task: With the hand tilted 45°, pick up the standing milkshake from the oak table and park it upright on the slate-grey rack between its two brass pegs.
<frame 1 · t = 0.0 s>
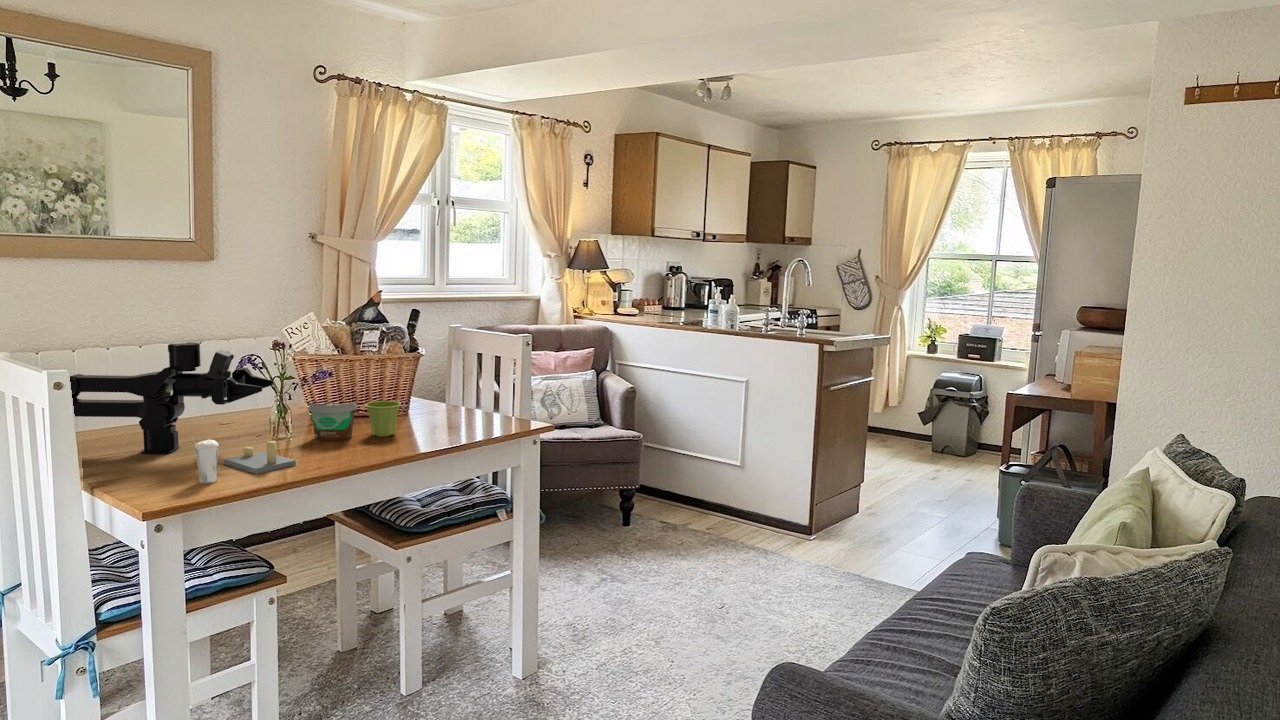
hand: (267, 385, 205), 17 cm above the table, tool horizontal, fingers open, 9 cm apart
milkshake: (206, 482, 180), on the table
plant pot: (383, 435, 229), on the table
food container: (332, 440, 220), on the table
rack: (260, 464, 194), on the table
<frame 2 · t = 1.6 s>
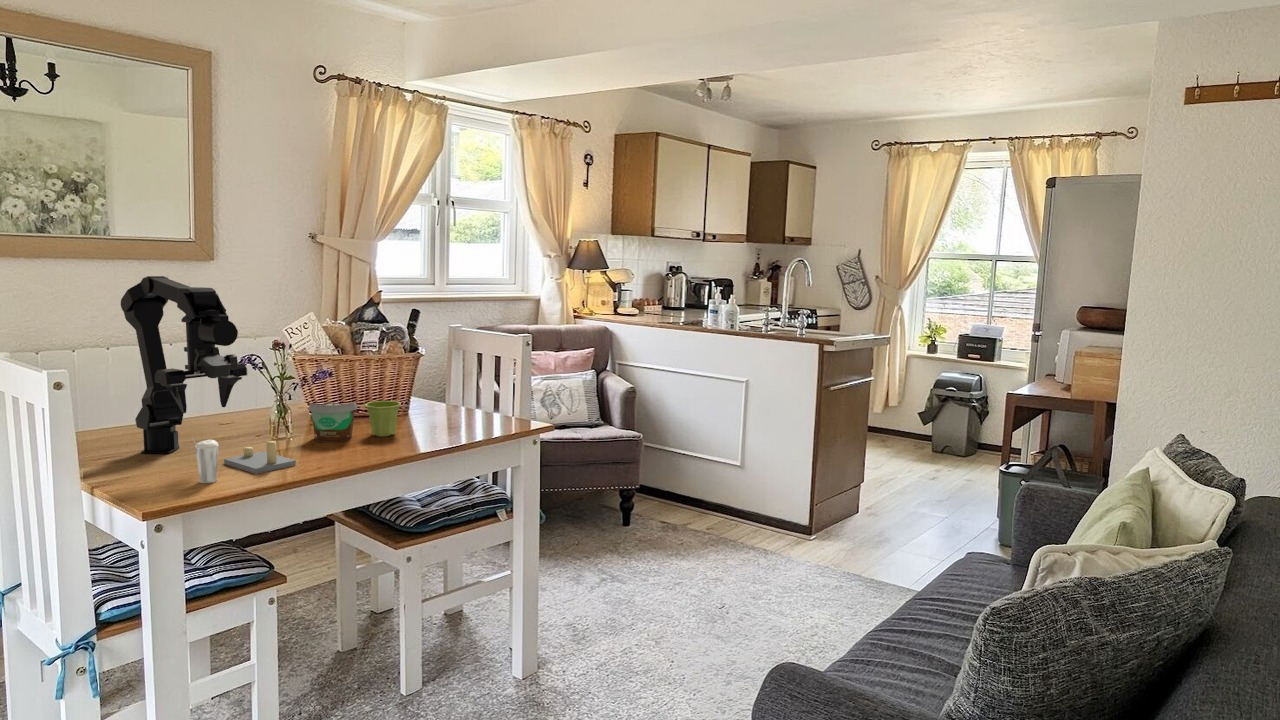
hand: (204, 409, 191), 13 cm above the table, tool pointing down, fingers open, 9 cm apart
nothing on the table moved.
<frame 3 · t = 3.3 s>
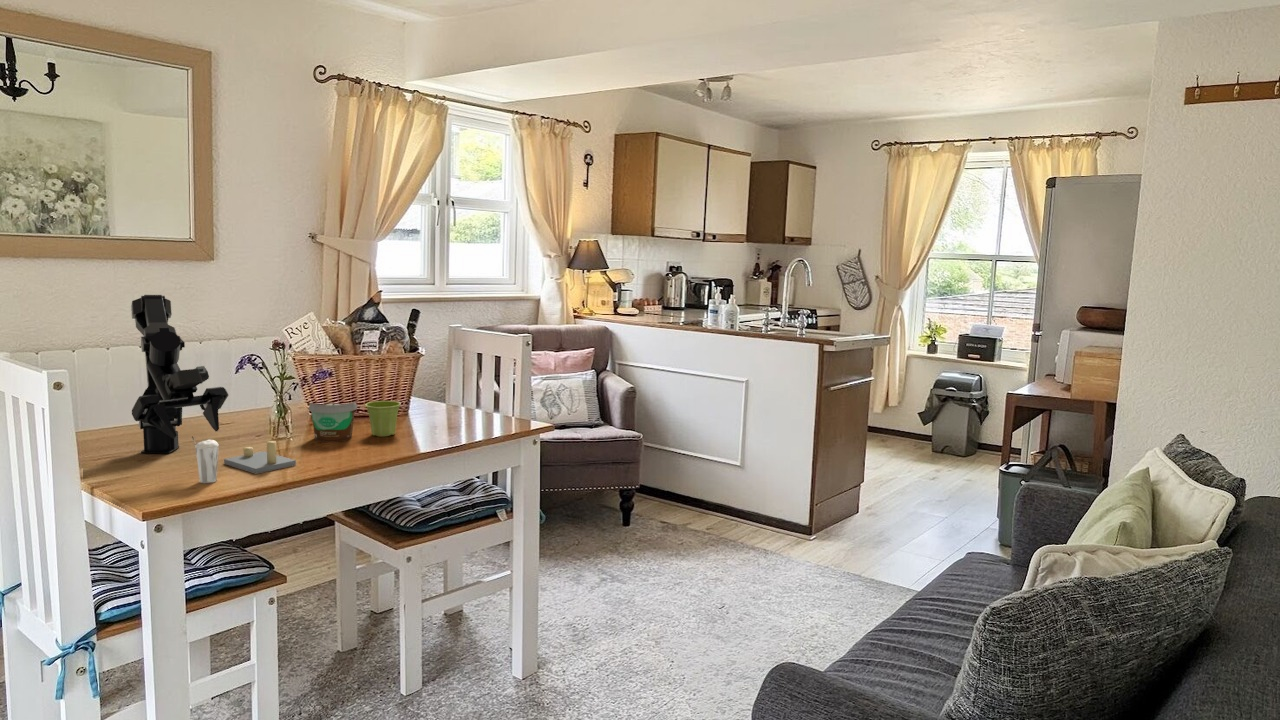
hand: (196, 433, 180), 10 cm above the table, tool tilted 45°, fingers open, 9 cm apart
nothing on the table moved.
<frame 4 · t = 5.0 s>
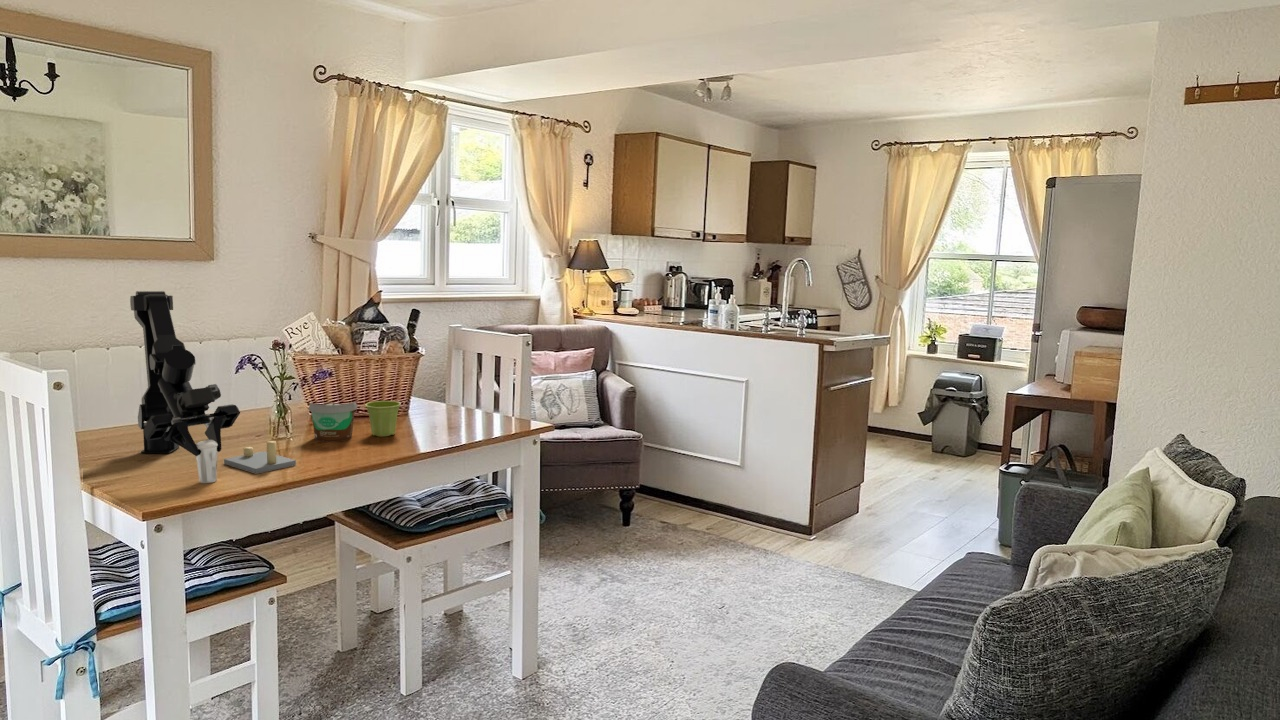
hand: (208, 452, 178), 7 cm above the table, tool tilted 45°, fingers closed on milkshake, 4 cm apart
milkshake: (206, 482, 180), on the table, touching gripper
everything else where it was.
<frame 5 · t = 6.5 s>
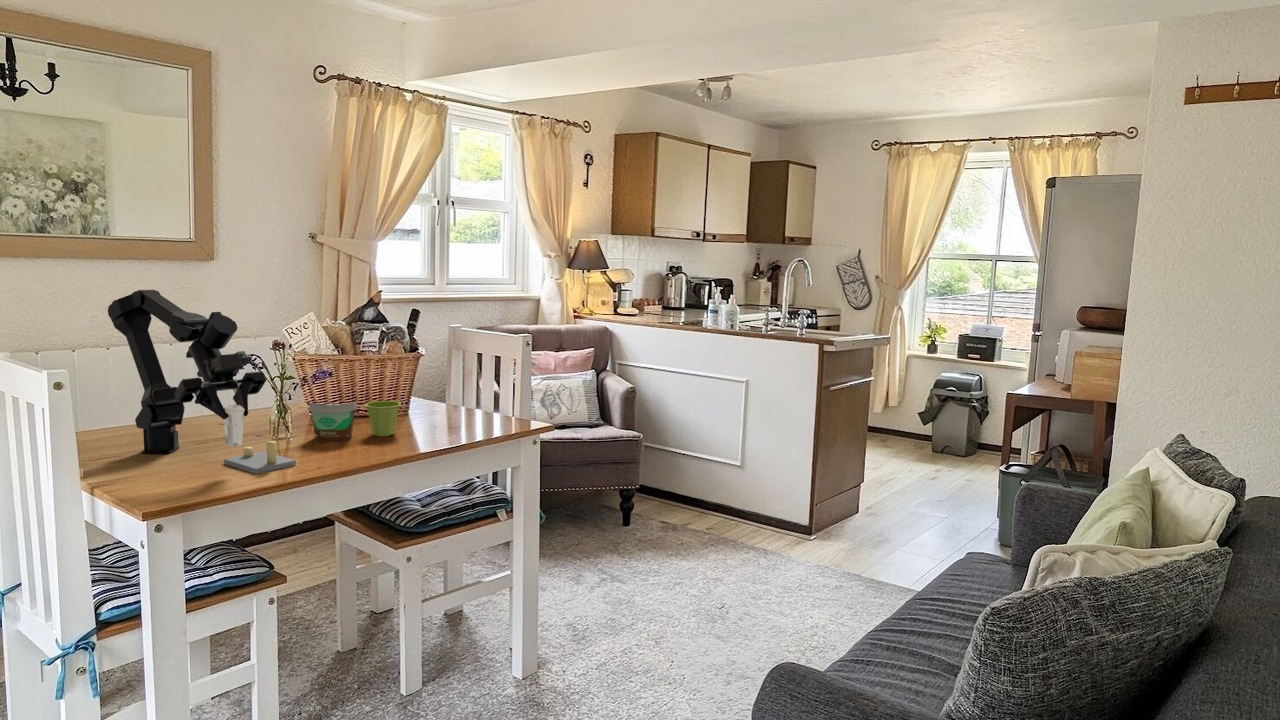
hand: (236, 416, 185), 13 cm above the table, tool tilted 45°, fingers closed on milkshake, 4 cm apart
milkshake: (232, 445, 186), point 6 cm above the table, touching gripper
everything else where it was.
when the fingers open (9 cm above the table, at t = 8.0 s): milkshake drops 1 cm, resting on rack.
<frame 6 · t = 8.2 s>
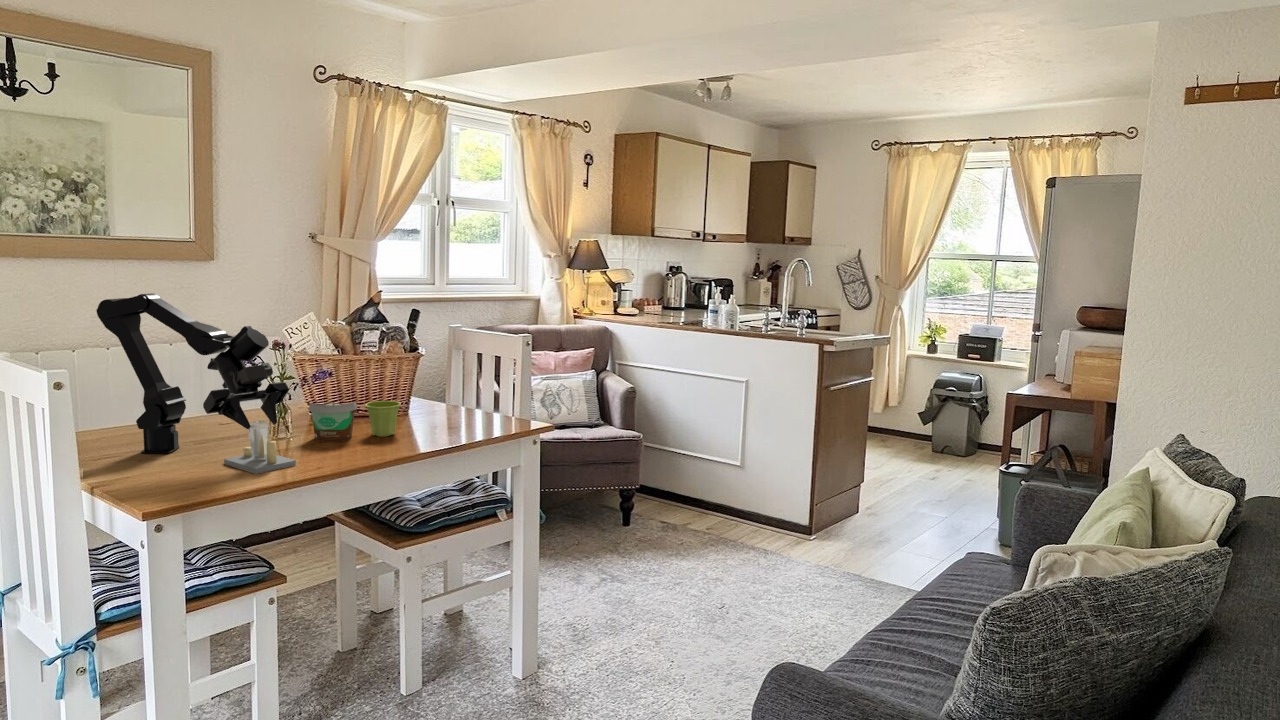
hand: (262, 425, 192), 10 cm above the table, tool tilted 45°, fingers open, 6 cm apart
milkshake: (258, 460, 194), point 1 cm above the table, touching rack
everything else where it was.
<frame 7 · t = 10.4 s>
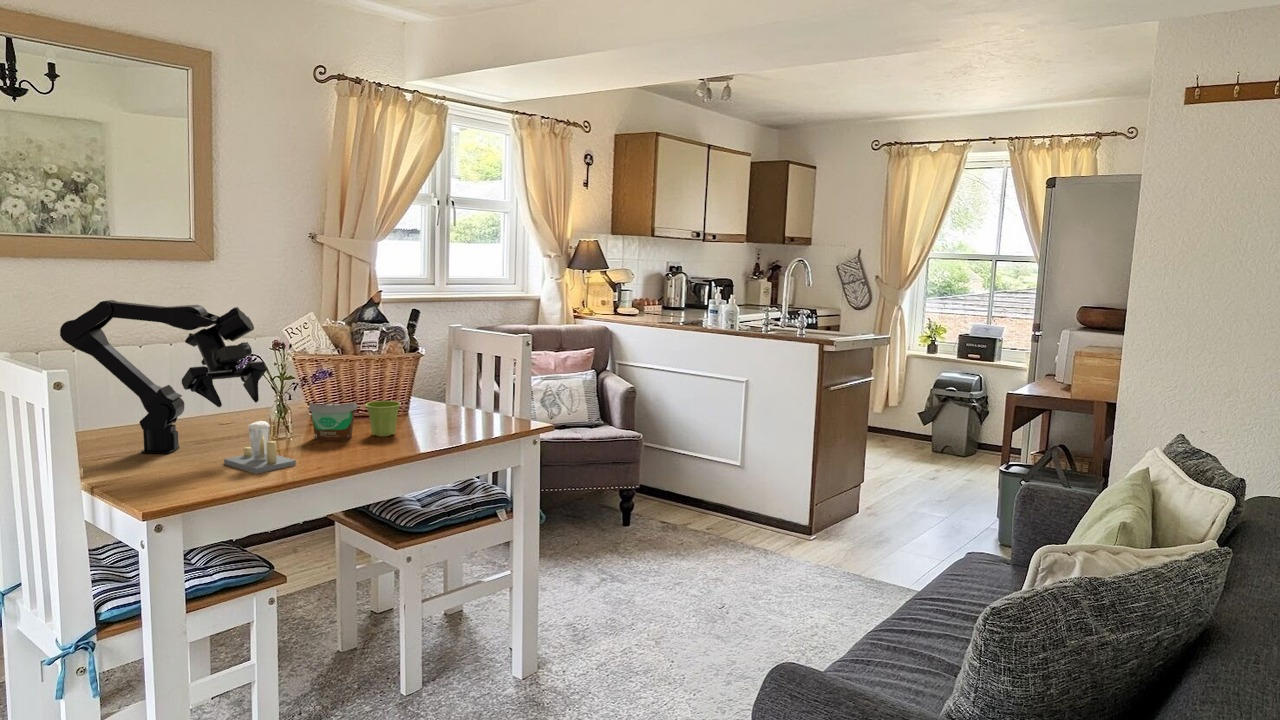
hand: (239, 403, 197), 13 cm above the table, tool tilted 40°, fingers open, 9 cm apart
nothing on the table moved.
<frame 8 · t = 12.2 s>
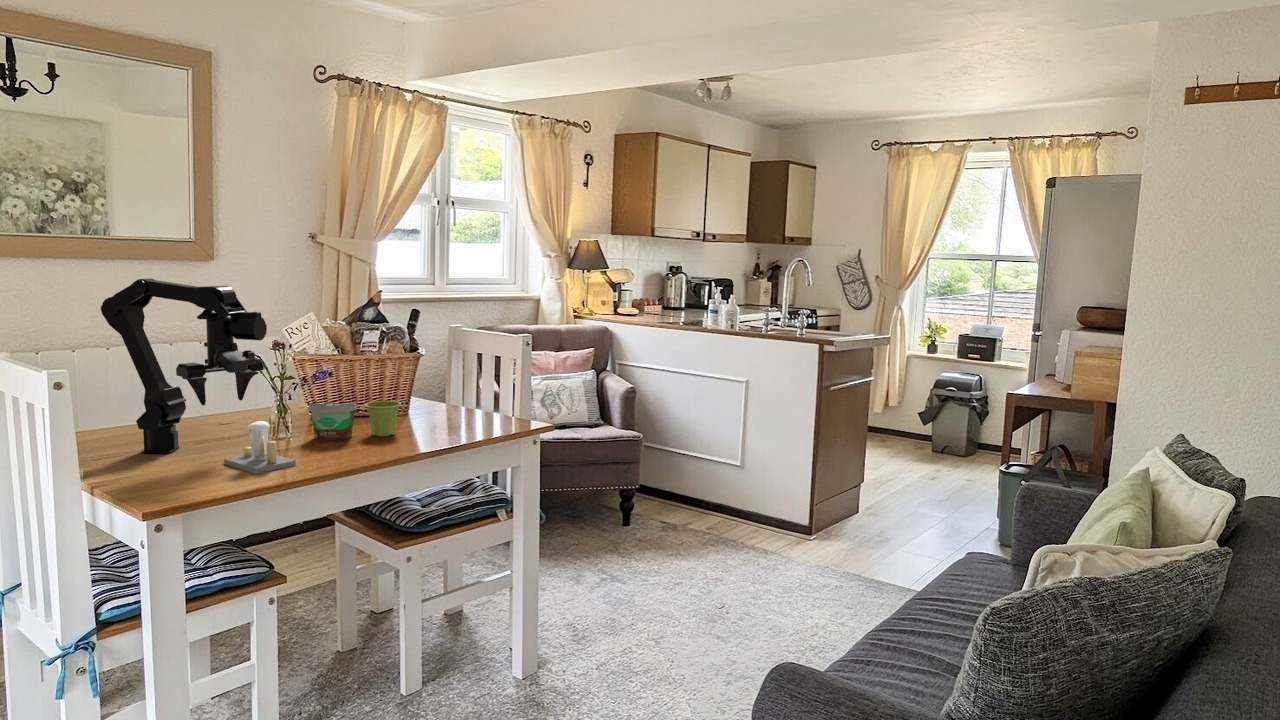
hand: (222, 402, 200), 13 cm above the table, tool pointing down, fingers open, 9 cm apart
nothing on the table moved.
at the end: milkshake 0.3 cm off-centre on the rack, point 1.0 cm above the rack's base; milkshake tilted 0°; the gripper is holding nothing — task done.
